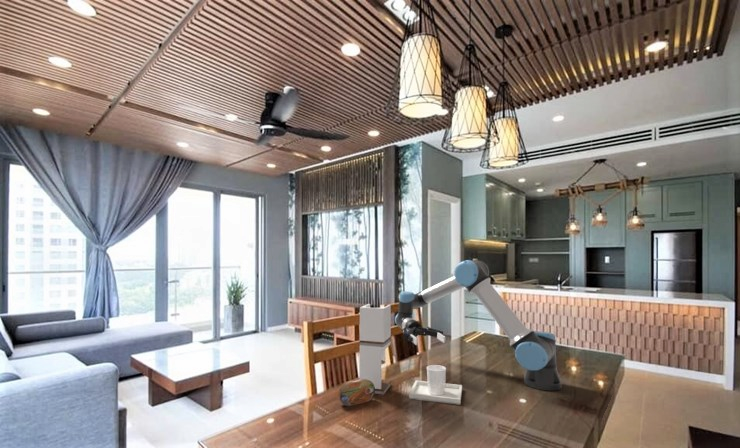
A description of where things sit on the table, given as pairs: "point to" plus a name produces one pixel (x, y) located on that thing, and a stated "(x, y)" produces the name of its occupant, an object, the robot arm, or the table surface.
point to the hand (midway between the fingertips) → (430, 340)
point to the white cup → (436, 379)
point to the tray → (450, 396)
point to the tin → (356, 392)
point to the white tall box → (374, 344)
